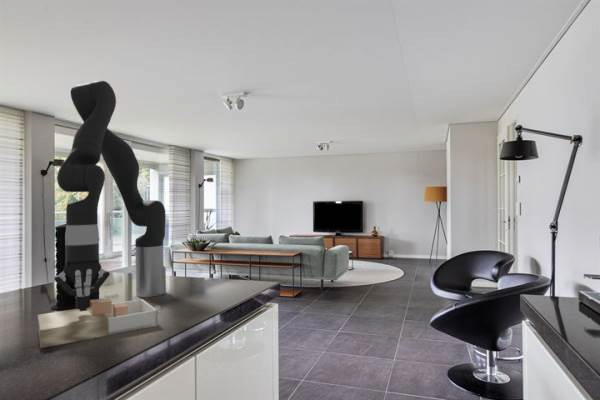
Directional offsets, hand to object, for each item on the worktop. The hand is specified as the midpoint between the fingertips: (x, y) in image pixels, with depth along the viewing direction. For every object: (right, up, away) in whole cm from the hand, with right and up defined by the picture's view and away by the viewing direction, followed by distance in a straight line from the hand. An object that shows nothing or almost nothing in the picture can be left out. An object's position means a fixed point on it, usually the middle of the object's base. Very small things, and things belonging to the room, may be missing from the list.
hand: (82, 310), depth 101 cm
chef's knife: (+13, -6, +17) cm, 22 cm away
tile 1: (+3, -1, +2) cm, 4 cm away
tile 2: (+6, -2, +4) cm, 8 cm away
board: (-2, -5, -1) cm, 6 cm away
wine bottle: (-9, -6, +19) cm, 22 cm away
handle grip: (-18, -6, +25) cm, 31 cm away
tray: (+9, -5, +6) cm, 12 cm away
